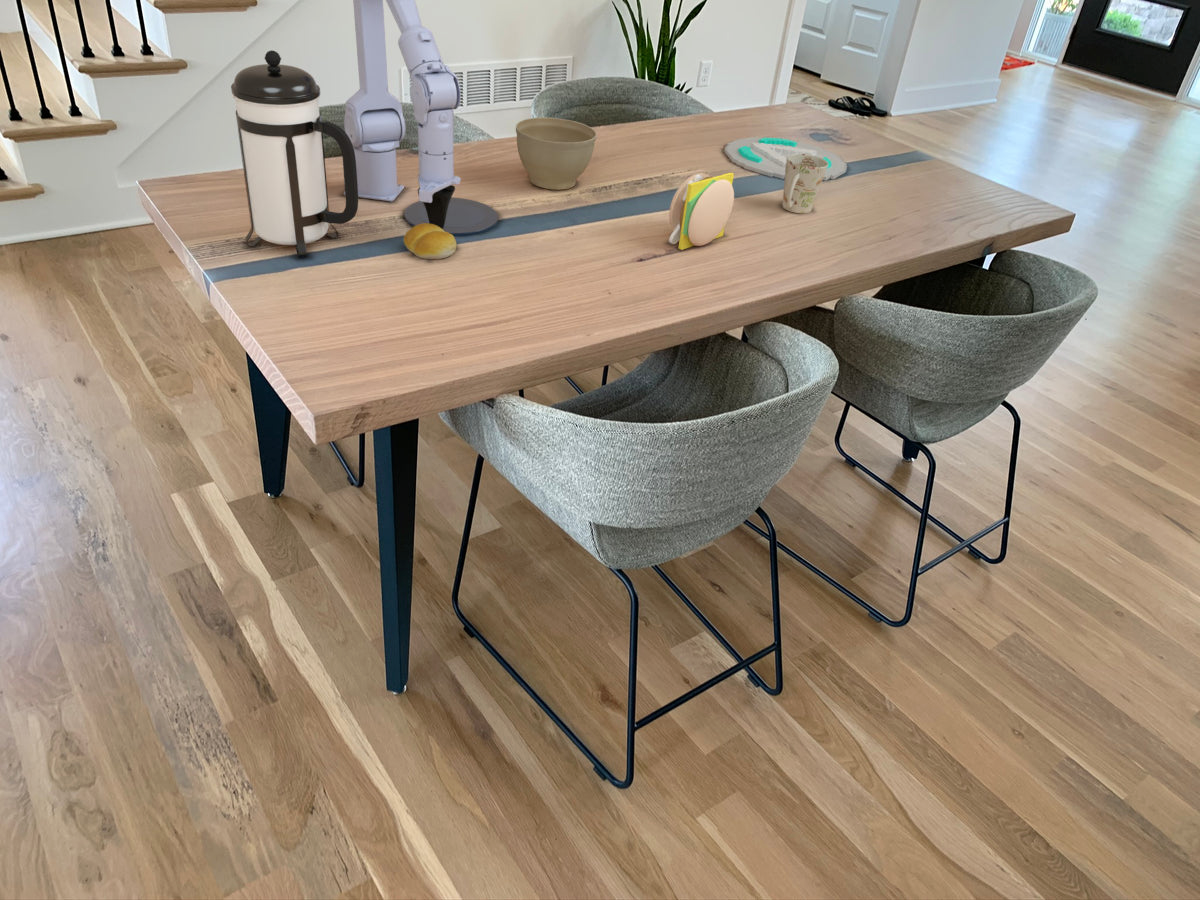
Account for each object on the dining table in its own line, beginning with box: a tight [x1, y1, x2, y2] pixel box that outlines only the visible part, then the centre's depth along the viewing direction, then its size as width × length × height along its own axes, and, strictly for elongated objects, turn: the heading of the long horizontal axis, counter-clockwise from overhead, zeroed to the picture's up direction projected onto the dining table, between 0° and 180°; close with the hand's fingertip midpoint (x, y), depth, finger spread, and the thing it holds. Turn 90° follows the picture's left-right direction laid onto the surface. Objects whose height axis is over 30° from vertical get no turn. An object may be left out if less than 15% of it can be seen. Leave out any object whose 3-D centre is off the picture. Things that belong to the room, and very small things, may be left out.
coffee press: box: [230, 50, 359, 259], centre depth 142 cm, size 17×16×30 cm
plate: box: [404, 197, 499, 237], centre depth 165 cm, size 17×17×1 cm
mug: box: [781, 154, 828, 214], centre depth 182 cm, size 8×13×10 cm, turn 155°
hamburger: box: [668, 172, 735, 251], centre depth 165 cm, size 12×8×12 cm
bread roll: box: [403, 223, 457, 260], centre depth 152 cm, size 8×9×4 cm
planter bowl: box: [515, 117, 598, 191], centre depth 182 cm, size 16×16×11 cm
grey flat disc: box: [723, 136, 848, 182], centre depth 212 cm, size 28×28×2 cm
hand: (437, 228), depth 156 cm, fingers closed
